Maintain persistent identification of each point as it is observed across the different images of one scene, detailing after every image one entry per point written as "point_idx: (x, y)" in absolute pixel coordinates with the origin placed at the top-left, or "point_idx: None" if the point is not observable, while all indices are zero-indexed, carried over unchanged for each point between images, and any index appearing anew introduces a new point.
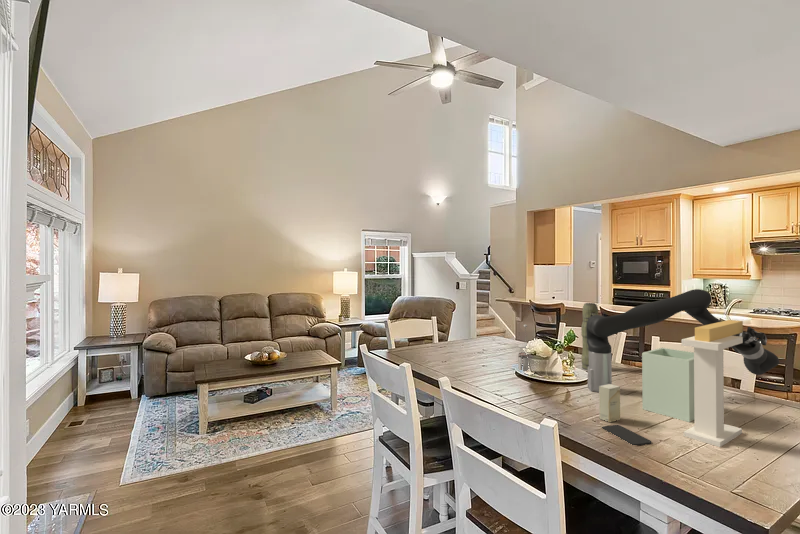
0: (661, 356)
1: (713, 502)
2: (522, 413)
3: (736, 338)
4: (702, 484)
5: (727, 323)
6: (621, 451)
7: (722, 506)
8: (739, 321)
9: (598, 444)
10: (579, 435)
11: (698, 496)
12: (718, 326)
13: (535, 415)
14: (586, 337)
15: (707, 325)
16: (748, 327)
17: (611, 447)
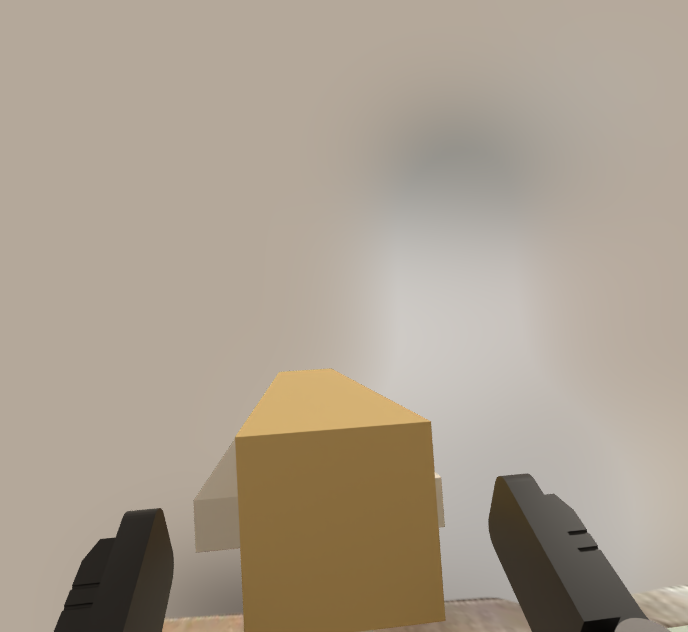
0: (673, 630)
1: (205, 617)
2: (670, 597)
3: (216, 469)
4: None
5: (292, 390)
6: (398, 628)
7: (192, 618)
8: (258, 422)
9: (445, 618)
10: (501, 616)
11: (227, 615)
12: (281, 377)
13: (654, 610)
14: None
15: (330, 374)
16: (153, 513)
17: (422, 626)
